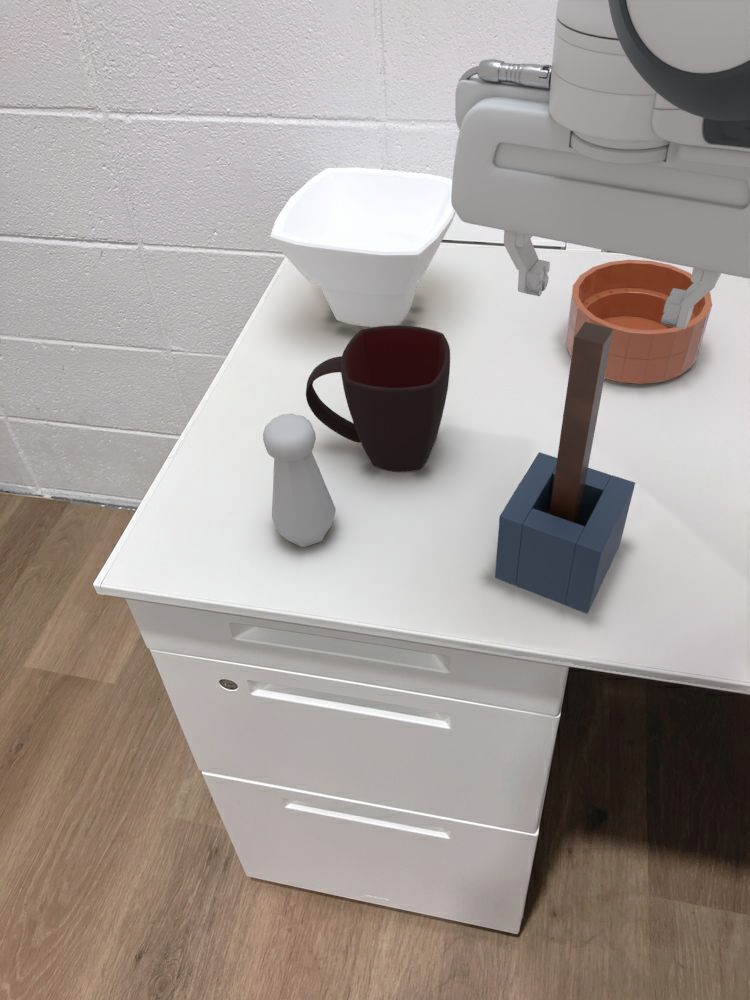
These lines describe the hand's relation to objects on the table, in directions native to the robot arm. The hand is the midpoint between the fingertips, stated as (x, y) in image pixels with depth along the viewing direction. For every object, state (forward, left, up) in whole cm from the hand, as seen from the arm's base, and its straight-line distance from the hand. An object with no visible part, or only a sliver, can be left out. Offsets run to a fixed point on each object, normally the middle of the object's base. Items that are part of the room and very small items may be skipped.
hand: (601, 305), depth 52 cm
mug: (+21, -6, -26) cm, 34 cm away
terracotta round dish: (+4, -33, -26) cm, 42 cm away
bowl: (+34, -27, -26) cm, 51 cm away
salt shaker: (+22, +7, -26) cm, 35 cm away
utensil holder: (0, 0, -26) cm, 26 cm away
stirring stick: (0, 0, -26) cm, 26 cm away
